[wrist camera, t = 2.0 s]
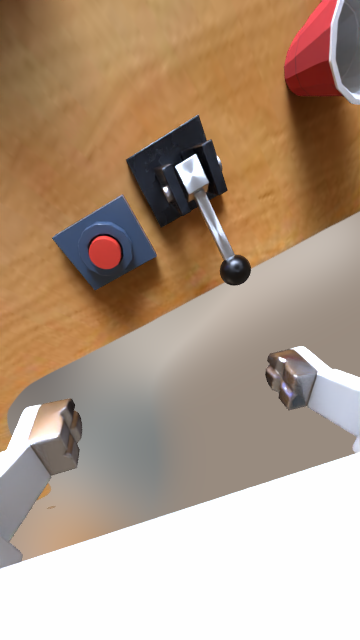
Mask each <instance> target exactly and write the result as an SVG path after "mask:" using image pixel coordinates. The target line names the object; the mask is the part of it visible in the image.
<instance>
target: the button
mask: <svg viewBox="0 0 360 640" xmlns="http://www.w3.org/2000/svg"><path fill="white" fill-rule="evenodd" d="M89 257H90V259H91V261H92V262H93V263H94V264H95V265H96V266H97V267H99V268H102V269H111V268H114V267H115V266H117V265H118V263H119V262H120V259H121V247H120V245H119V243H118V242H117V241H116V240H115V239H114V238H112V237H109V236H99V237H97V238H95V239H94V240H93V242H92V244H91V245H90V248H89Z"/></svg>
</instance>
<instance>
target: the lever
mask: <svg viewBox="0 0 360 640" xmlns="http://www.w3.org/2000/svg"><path fill="white" fill-rule="evenodd" d="M175 168H176V176H177V179H178V181H179V183H180V185H181V187H182V189H183V192H184V194H185V196H186V198H187V200H188V202H190V201H192V200H193V199H195V202H196V204H197V206H198V208H199V210H200V212H201V214H202V216H203V218H204V220H205V222H206V225H207V227H208V229H209V231H210V233H211V235H212V237H213V239H214V241H215V243H216V245H217V247H218V250H219V252H220V254H221V256H222V258H223V260H224V261H223V262H222V264H221V266H220V275H221V278H222V279H223V281H224V282H226V283H227V284H229V285H240V284H242V283H244V282H245V281H246V280H247V279H248V277H249V275H250V272H251V266H250V263H249V261H248V260H247V259H246V258H245V257H243V256H241V255H235V254H234V252H233V250H232V248H231V246H230V244H229V242H228V240H227V237H226V235H225V233H224V231H223V229H222V227H221V225H220V223H219V220H218V218H217V216H216V214H215V212H214V210H213V208H212V206H211V203H210V201H209V199H208V197H207V195H206V193H205V192H207V189H208V185H209V181H208V179H207V177H206V175H205V173H204V171H203V168H202V166H201V164H200V162H199V160H198V158H197V155H196V154H195V155H194V156H192V157H190V158H189V159H187V160H185V161H184V162H182V163H180V164H179V165H177V166H176V167H175Z"/></svg>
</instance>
